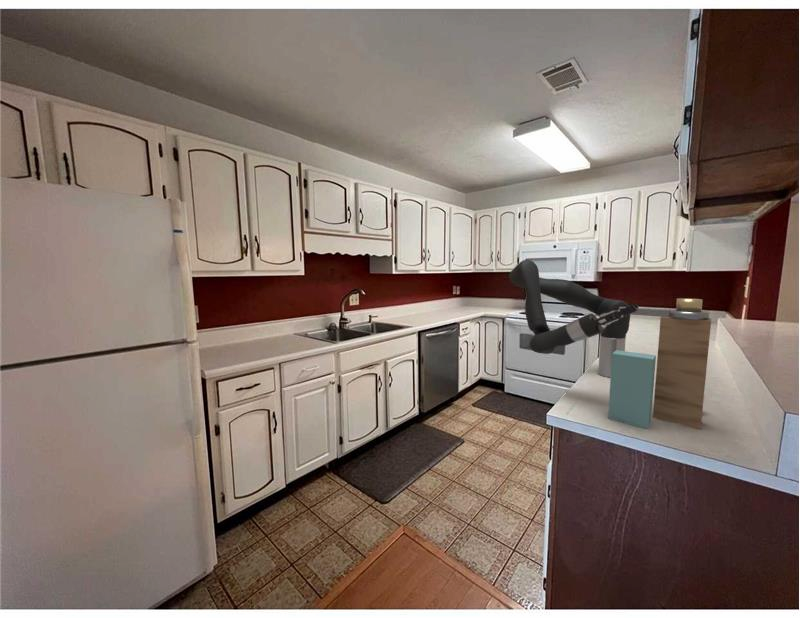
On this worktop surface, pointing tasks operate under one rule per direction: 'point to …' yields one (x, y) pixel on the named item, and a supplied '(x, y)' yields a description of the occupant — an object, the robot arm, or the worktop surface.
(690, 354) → the tall stand
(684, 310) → the grey lever handle
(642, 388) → the tall block
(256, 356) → the worktop surface
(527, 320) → the robot arm
